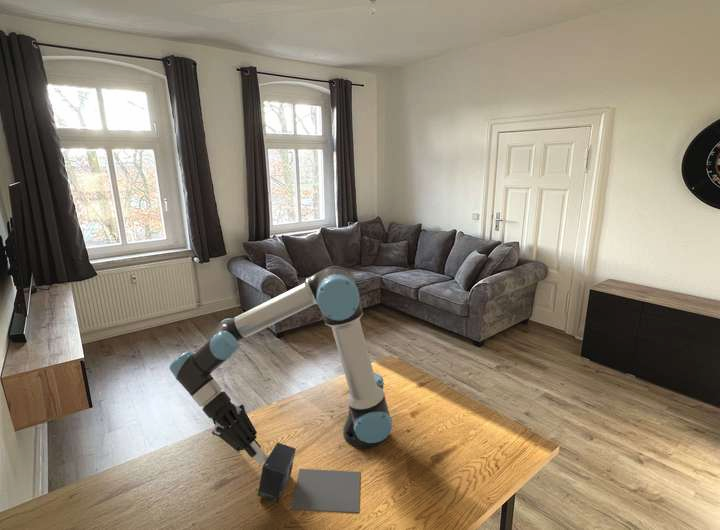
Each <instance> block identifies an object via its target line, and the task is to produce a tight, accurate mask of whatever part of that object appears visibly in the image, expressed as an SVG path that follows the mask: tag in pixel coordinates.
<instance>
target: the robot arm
mask: <svg viewBox="0 0 720 530" xmlns="http://www.w3.org/2000/svg"><path fill="white" fill-rule="evenodd" d="M314 305H317V307H318V308H319V311H320V312H321V315H322V318H323V321H324V324H325V325H326V326H328V327H331V330H332V335H333V337H334V341H335V344H336V348H337V352H338V355H339V359H340V363H341V366H342V369H343V373H344V375H345V379H346V383H347V386H348V391H349V396H348V397H347V405H348V415H347V418H346V420H345V422H344V425H343V431H342V436H343V439H344V440H345V442H346V443H348V444H349V445H351V446H352V447H355V448H358V449H373V448H376V447H378V446H380V445H382V444H383V442H384V441H385V440H386V438H388V437H389V435H390V433H391V432H392V429H393V419H392V417H391V415H390V411H389V408H388V404H387V400H386V397H385V392H384V385H385V383H384V378H383V376H382V375H380V374H379V373H376V372H374V369H373V365H372V361H371V357H370V354H369V350H368V347H367V342H366V339H365V336H364V335H365V334H364V331H363V328H362V323H361V320H360V319H361V317H362V316H363V314H364V312H363V307H362V303H361V300H360V292H359V289H358V286H357V284H356V281H355V278H354V275H353V274H352V273H351V272H350V271H349V270H348V269H347V268H345V267H343V266H339V265H331V266H328V267H326V268H324V269H322V270H320V271H317V272H316V273H313V275H310V276H309V277H307V278H305V282H303V283H302V284H299V285H297V286H295V287H293V288H291V289H289V290H288V291H287V290H286V291H285V292H283V293H281V294H279V295H277V296H275V297H273V298H271V299H269V300H266V301H264V302H263V303H260V304H259V305H257V306H255V307H253V308H251V309H249V310H247V311H245V312H242V313H241V314H239V315H237V316H235V317H233V318H232V317H230V318H229V317H228V318H225V319H223V320H221V321H220V322H219V323H218V324H217V325H216V327H215V329H214V330H213V332H212V334H211V335H210V337H209V338H208V340H207V341H206V343H205V344H203V345H202V346H201V347H200V348H199V349H198V350H197V351H196V352H194V353H193V352H192V351H190V350H188V351H186V352H184V353H182V354H181V355H179V356H178V357H177V358H176V359H174V360H173V361H172V362H171V364H170V366H169V371H170V372H171V373H172V374H173V376H174V377H175V379H176V381H178V382H179V384H181V386H182V387H183V388H184V389H185V390H186V392H187V393H188V394H189V396H191V398H192V399H193V400H194V402H195V403H196V404H197V405H198V407H200V408H201V407H202V412H204V415H206V416H207V418H208V419H211V420H212V422H213V425H214V429H213V430H212V432H211V434H212V435H213V436H216V437H218V438H220V439H221V440H222V441H224V442H225V443H226V444H228V445H229V446H230V447H231V448H232V449H234V450H235V451H237V452H238V453H239V452H241V451H245V452H246V453H247V454H248V455H249V457H250V458H253V460H254V461H255V462H256V463H257V464H258V465H259V466H261V465H262V466H263V465H264V463H265V462H266V460H267V458H268V457H269V456H267V454H266V453H265V452H264V451H263V449H262V447H261V445H260V444H259V442H258V441H257V440H256V439H257V433H258V432H257V430H256V428H255V427H254V425H253V423H252V421H251V420H250V417H249V416H248V414H247V412H246V409H245V406H244V404H240V405H237V406H236V405H235V404H234V403H232V401H231V400H232V399H231V397H230V396H229V395H228V394H227V392H225V390H222V389H223V388H222V387H221V386H220V384H219V383H218V382H217V380H216V379H215V378H214V376H212V373H213V372H214V371H216V369H218V368H219V367H220V366H221V365H222V364H223V363H224V362H226V361H227V360H228V359H230V358H231V357H232V356H233V355H234V354H235V353H236V352H237V351H238V349H239V344H238V343H239V342H240V341H242V340H244V339H246V338H248V337H250V336H252V335H254V334H256V333H258V332H260V331H262V330H265V329H266V328H269V327H270V326H272V325H275V324H277V323H278V322H280V321H282V320H284V319H287V318H289V317H291V316H293V315H296V314H298V313H299V312H301V311H303V310H305V309H308V308H310V307H311V306H314Z"/></svg>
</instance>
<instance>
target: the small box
mask: <svg viewBox="0 0 720 530" xmlns="http://www.w3.org/2000/svg"><path fill="white" fill-rule="evenodd" d="M295 455H296V448H295V447H292V446H289V445H286V444H284V443H280V442H277V443H276V444H275V446H274V447H273V449H272V451H271V452H270V454H269V455H268V456H267V457H268V458H267V460H266V462H264V463H263V464H262V469H261V474H260V478H259V479H260V481H259V487H258V492H257V496H258V497H260V498H264V499H266V500H268V501H271V502H274V503H278V502H279V499H280V497H281V496H282V494H283V492H284V490H285V488H286V486H287V484H288V482H289V480H290V478H291V475H292V470H293V465H294V461H295V460H294V459H295Z"/></svg>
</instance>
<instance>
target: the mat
mask: <svg viewBox="0 0 720 530" xmlns="http://www.w3.org/2000/svg"><path fill="white" fill-rule="evenodd" d="M360 485H361V471H350V470H348V471H347V470H334V469H333V470H331V469H314V468H313V469H310V468H308V469H307V468H299V470H298V475H297V479H296V483H295V487H294V491H293V495H292V500H291V503H290V508H289V510H291V511H292V510H293V511H294V510H295V511H311V512H312V511H313V512H328V513H329V512H330V513H348V514H359V513H360V494H361V493H360V488H361V486H360Z"/></svg>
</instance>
